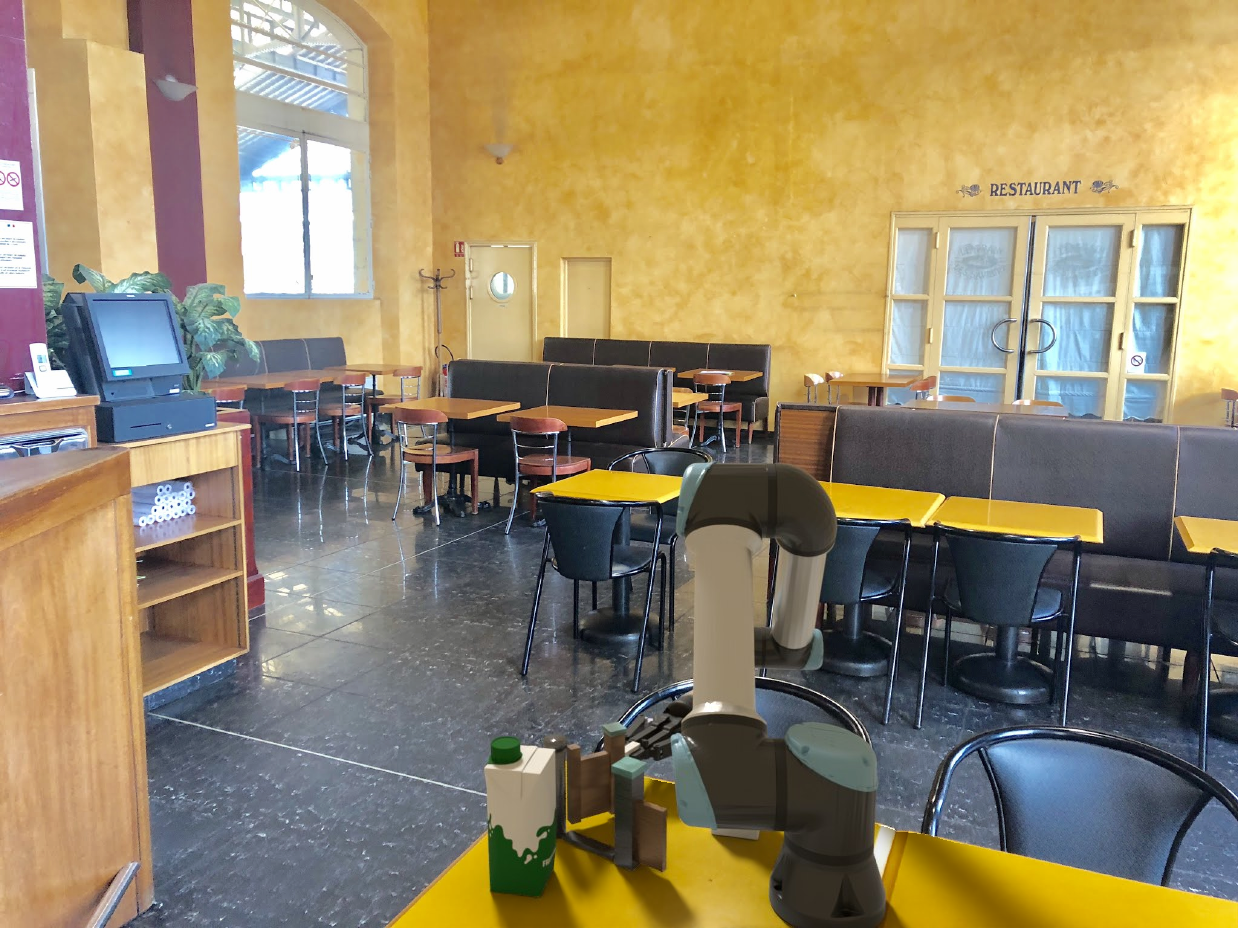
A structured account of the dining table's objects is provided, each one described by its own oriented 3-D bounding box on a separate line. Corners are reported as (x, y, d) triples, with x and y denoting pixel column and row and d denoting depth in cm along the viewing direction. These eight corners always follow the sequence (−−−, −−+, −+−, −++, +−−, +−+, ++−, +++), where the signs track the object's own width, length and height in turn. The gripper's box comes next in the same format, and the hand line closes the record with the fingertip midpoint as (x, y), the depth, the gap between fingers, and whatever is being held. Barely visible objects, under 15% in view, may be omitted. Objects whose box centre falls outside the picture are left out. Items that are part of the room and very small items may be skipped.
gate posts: (671, 871, 132) (672, 770, 130) (657, 883, 129) (657, 781, 127) (554, 824, 145) (553, 732, 142) (539, 834, 142) (538, 740, 140)
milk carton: (502, 858, 135) (499, 727, 132) (562, 866, 134) (561, 732, 131) (481, 894, 127) (477, 754, 124) (545, 902, 125) (543, 761, 122)
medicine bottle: (762, 816, 147) (764, 744, 145) (758, 840, 140) (759, 765, 138) (717, 811, 149) (718, 739, 147) (710, 834, 142) (711, 759, 140)
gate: (617, 803, 149) (617, 721, 147) (626, 811, 146) (626, 728, 144) (565, 817, 144) (564, 733, 142) (573, 826, 142) (572, 741, 140)
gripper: (723, 744, 164) (646, 799, 145) (661, 726, 171) (580, 775, 153) (724, 703, 163) (646, 753, 144) (661, 686, 170) (580, 731, 151)
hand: (612, 764), depth 148 cm, fingers closed
